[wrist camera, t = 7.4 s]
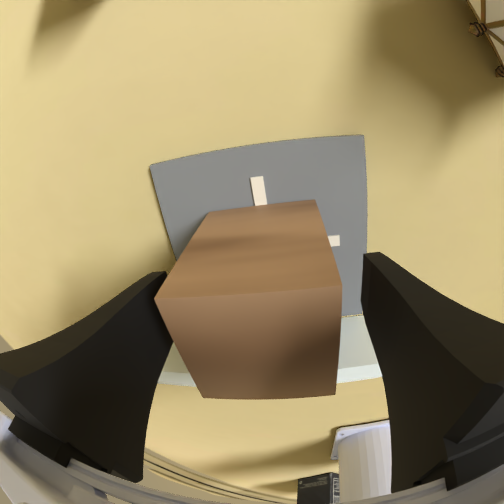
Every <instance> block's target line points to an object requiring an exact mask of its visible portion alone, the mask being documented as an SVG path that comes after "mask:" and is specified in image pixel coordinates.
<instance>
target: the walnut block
mask: <svg viewBox="0 0 504 504" xmlns="http://www.w3.org/2000/svg"><path fill="white" fill-rule="evenodd" d="M154 300H155V302H156V304H157V307H158V309H159V311H160V314H161V316H162V318H163V320H164V322H165V325H166V327H167V329H168V331H169V333H170V335H171V337H172V339H173V341H174V344H175V346H176V348H177V350H178V352H179V354H180V356H181V358H182V360H183V362H184V363H185V365H186V367H187V369H188V371H189V373H190V375H191V377H192V379H193V381H194V382H195V384H196V386H197V388H198V390H199V391H200V393H201V395H202V397H203V398H215V399H289V398H305V397H318V396H328V395H335V392H336V383H337V373H338V362H339V350H340V335H341V316H342V282H341V278H340V275H339V272H338V268H337V265H336V261H335V258H334V255H333V252H332V249H331V245H330V242H329V239H328V236H327V233H326V230H325V227H324V224H323V221H322V218H321V215H320V212H319V209H318V206H317V203H316V201H315V199H313V200H303V201H294V202H284V203H275V204H267V205H258V206H250V207H242V208H235V209H227V210H220V211H213V212H209V213H208V214H207V216H206V217H205V219H204V220H203V222H202V223H201V225H200V226H199V228H198V229H197V231H196V232H195V234H194V235H193V237H192V238H191V240H190V241H189V243H188V244H187V246H186V248H185V249H184V251H183V252H182V254H181V255H180V257H179V259H178V260H177V262H176V263H175V265H174V267H173V268H172V270H171V271H170V273H169V275H168V276H167V278H166V280H165V281H164V283H163V284H162V286H161V288H160V289H159V291H158V293H157V294H156V296H155V298H154Z"/></svg>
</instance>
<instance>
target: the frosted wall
mask: <svg viewBox="0 0 504 504" xmlns="http://www.w3.org/2000/svg"><path fill="white" fill-rule="evenodd" d="M377 377H382V373H381V370H380V367H379V364H378V361H377V357H376V354H375V351H374V348H373V345H372V342H371V339H370V336H369V333H368V330H367V327H366V324H365V320H364V315H361V316H352V317H344V318H341V335H340V350H339V362H338V373H337V383H343V382H351V381H358V380H365V379H371V378H377ZM157 383H160V384H170V385H181V386H194V387H197V386H196V384H195V382H194V381H193V379H192V377H191V375H190V373H189V371H188V369H187V367H186V365H185V363H184V362H183V360H182V358H181V356H180V354H179V352H178V350H177V348H176V346H175V344H174V342H173V344H172V347H171V349H170V352H169V354H168V357H167V359H166V362H165V364H164V367H163V369H162V372H161V374H160V377H159V380H158V382H157Z"/></svg>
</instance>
